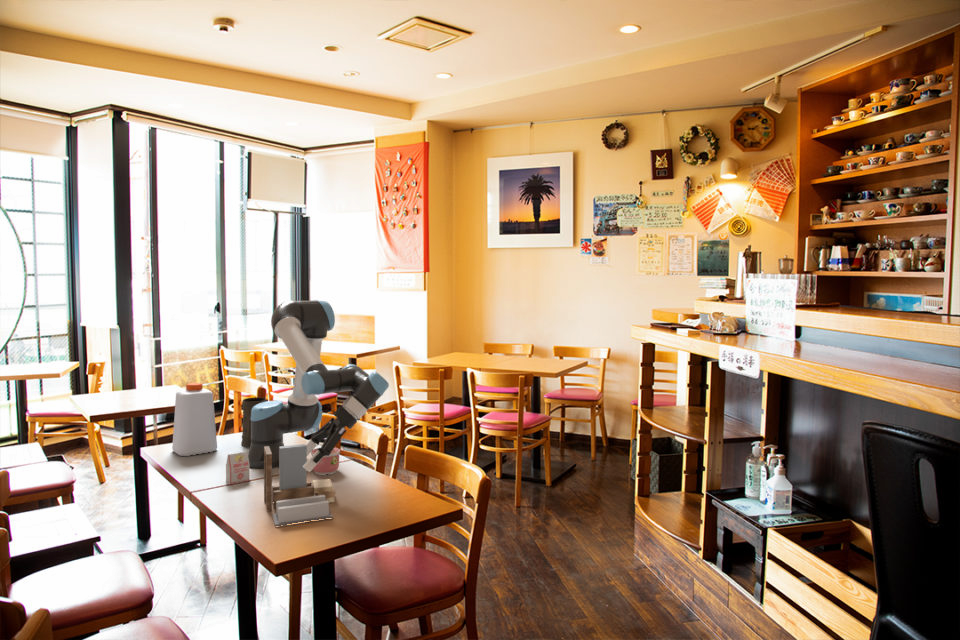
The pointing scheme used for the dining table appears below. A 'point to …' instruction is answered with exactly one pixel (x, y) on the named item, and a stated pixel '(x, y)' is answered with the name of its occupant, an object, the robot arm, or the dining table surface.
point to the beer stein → (248, 418)
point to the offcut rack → (275, 494)
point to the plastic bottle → (194, 421)
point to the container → (327, 462)
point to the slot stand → (301, 510)
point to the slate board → (292, 466)
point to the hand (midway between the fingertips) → (302, 463)
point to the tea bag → (237, 468)
